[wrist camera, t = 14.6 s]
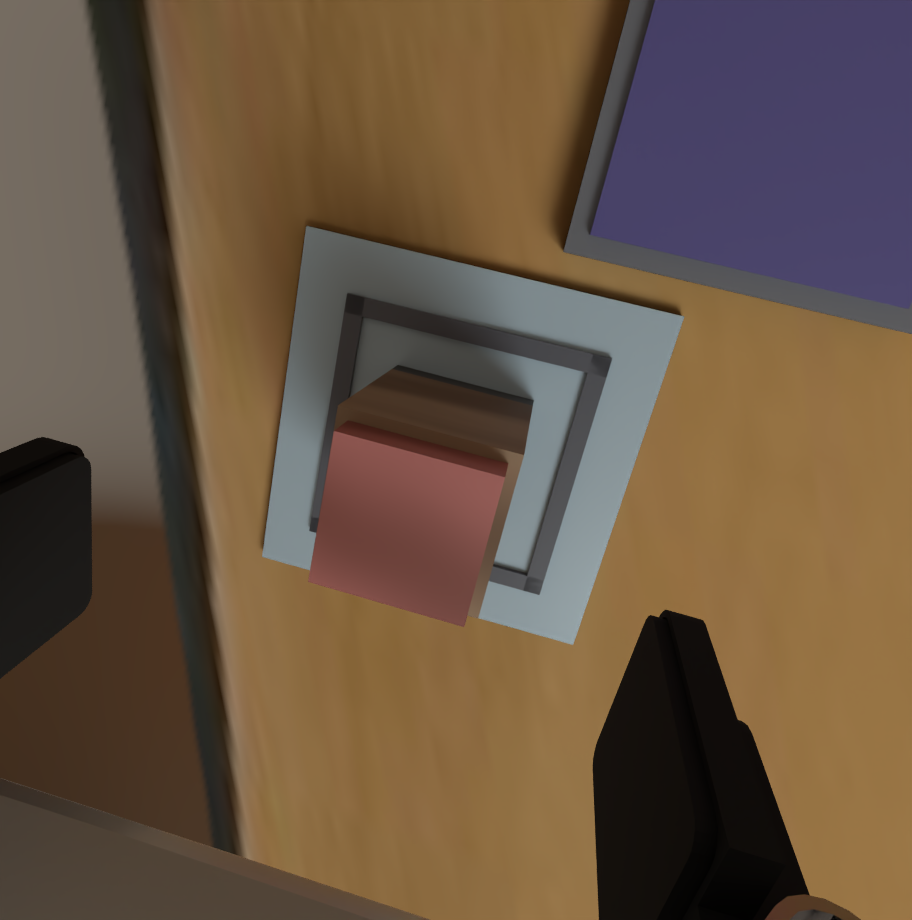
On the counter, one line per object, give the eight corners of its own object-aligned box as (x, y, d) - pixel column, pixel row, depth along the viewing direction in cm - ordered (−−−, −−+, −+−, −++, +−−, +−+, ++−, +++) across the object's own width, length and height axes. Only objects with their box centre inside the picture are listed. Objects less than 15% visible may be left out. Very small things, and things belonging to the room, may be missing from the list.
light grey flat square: (309, 226, 20) (303, 225, 20) (682, 315, 19) (685, 317, 19) (265, 553, 24) (259, 559, 24) (572, 639, 23) (573, 647, 23)
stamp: (397, 364, 21) (323, 415, 14) (533, 400, 20) (521, 468, 14) (373, 490, 22) (295, 588, 16) (499, 525, 22) (473, 640, 15)
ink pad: (671, -156, 16) (681, -190, 15) (1083, -81, 15) (1129, -110, 14) (563, 251, 19) (563, 251, 18) (896, 330, 19) (920, 335, 17)
